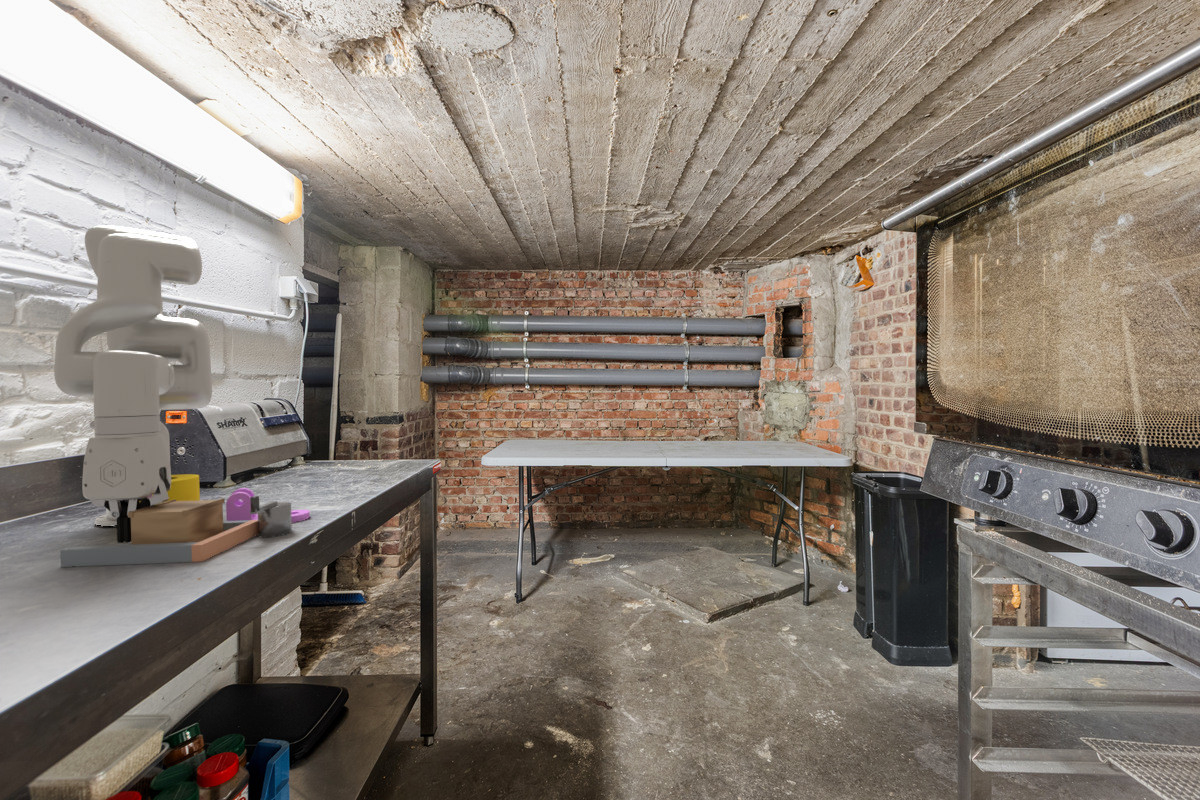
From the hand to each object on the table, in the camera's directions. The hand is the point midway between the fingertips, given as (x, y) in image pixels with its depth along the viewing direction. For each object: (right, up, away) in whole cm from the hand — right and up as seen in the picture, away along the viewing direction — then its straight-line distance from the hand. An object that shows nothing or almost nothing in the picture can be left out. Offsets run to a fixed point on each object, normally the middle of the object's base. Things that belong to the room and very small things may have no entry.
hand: (131, 539), depth 77 cm
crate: (+7, -2, +1) cm, 7 cm away
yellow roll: (-6, -2, +13) cm, 14 cm away
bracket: (+11, -2, +16) cm, 20 cm away
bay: (+5, -2, +1) cm, 5 cm away
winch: (+17, -1, +7) cm, 19 cm away
